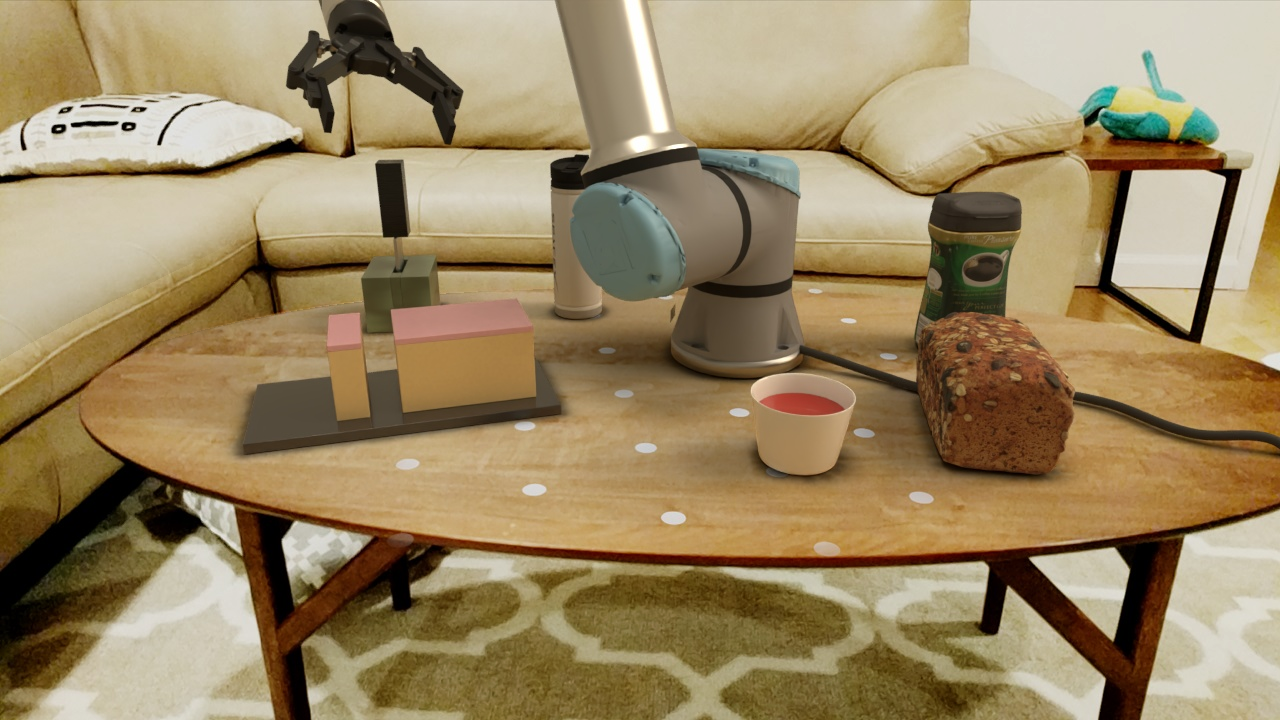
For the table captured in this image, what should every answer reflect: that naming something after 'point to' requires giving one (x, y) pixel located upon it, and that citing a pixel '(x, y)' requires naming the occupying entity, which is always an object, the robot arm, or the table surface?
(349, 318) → the cake slice
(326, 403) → the cake board
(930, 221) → the coffee jar
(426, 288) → the knife block
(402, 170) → the kitchen knife
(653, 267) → the robot arm
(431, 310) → the cake loaf
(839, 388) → the candle
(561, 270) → the travel mug
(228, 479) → the table surface
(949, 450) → the bread
